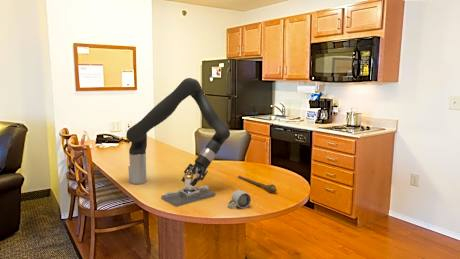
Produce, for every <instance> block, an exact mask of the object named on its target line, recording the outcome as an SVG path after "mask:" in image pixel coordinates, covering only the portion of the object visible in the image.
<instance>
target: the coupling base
mask: <svg viewBox="0 0 460 259" xmlns="http://www.w3.org/2000/svg"><path fill="white" fill-rule="evenodd" d="M209 189H210V188H209V185H208V184H207V185H203V186H199V185H198V186H194V187H193V192H190V193H186V192H185V188H181V189H177V190H176V191H175V190H174V191H167V192H164V193H165V194H163V195H161V199H162V200H163V201H165V202H168V203H169V204H171V205H173V206H175V207H179V206H183V205H186V204H190V203H194V202H197V201H201V200H204V199H208V198H211V197H214V196H216V192H215V191H212V190H209Z"/></svg>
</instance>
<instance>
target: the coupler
mask: <svg viewBox="0 0 460 259" xmlns="http://www.w3.org/2000/svg"><path fill="white" fill-rule="evenodd" d="M194 176H195V175H194V174H190V173H189V174H185V173H184V176H183V177H184V178H185V182H184V189H185V192H186V193H190V192H193V188H194V187H193V186H192V185H191V183H192V181H193V180H194Z"/></svg>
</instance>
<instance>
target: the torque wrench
mask: <svg viewBox="0 0 460 259" xmlns="http://www.w3.org/2000/svg"><path fill="white" fill-rule="evenodd" d="M237 178H238V179H240V180H243V181H246V182H248V183H252V184H253V185H257V186H259V187H262V188H264V189H266V190H267V191H268V193H270V194H273V193H275V192H277V191H278V190H277V187H276V185H275V184H265V183H262V182H258V181H257V180H256V181H255V180H253V179H249V178H247V177H244V176H241V175H238V176H237Z"/></svg>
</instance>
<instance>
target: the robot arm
mask: <svg viewBox="0 0 460 259" xmlns="http://www.w3.org/2000/svg"><path fill="white" fill-rule="evenodd" d="M188 97H191V98H193V100H194V102H195V103H196V104H197V106H198V108H199V110H200V114H201V115H202V117H203V118H204V120H205V122H206V123H207V125H208V126H209V127H210V128H212V129H213V130H214V134H213V135H212V137H211V139H210V140H209V142H208V143H207V144H206V145H205V147H204V148H203V149H202V150H201V151H200V153H199V155H198V156H197V157H196V158H195V160H194V164H192V163H189V164H188V166H186V168H185V170H183V173H184V175H185V174H193V175H194V176H195V178H193V181H192V183H191V185H192V186H193V188H195V187H196V185H197V183H199V182H200V181H203V180H204V179H205V177H206V176H207V174H208V173H209V172H208V170H207V169H208V168H209V166H210V165H211V163H212V162H213V161H214V159H215V157H216V155H217V154H218V153H219V151H220V149H221V147H222V146H223V144H224V143H225V141H227V139H228V138H230V135H231V132H230V129H229V126H227V125H226V124H225V123H224V122H223V121H222V120H221V118H220V117H219V116H218V113H216V110H215V109H214V108H213V107H212V105H211V102H210V101H208V99H207V96H206V94H205V93H204V90H203V88H202V86H201V84H200V82H199V81H198V79H195V78H192V77H187V78H184V79H183V80H182V81H181V82H180V83H179V85H178V86H176V88H175V89H174V90H173V91H172V92H171V93H169V94H168V95H167V96H165V98H163V99H162V100H160V101H159V102H158V103H157V104H156V105H155V106H154V107H153V108H152V109H151V110H149V112H148V113H147V114H145V116H144V117H143V118H142V119H141V120H140V121H138V122H137V123H135V124H134V125H133V126H131V127H129V128H128V130H127V131H126V134H125V136H126V140H127V142H130V143H131V145H130V147H129V149H128V150H129V151H128V153H129V154H128V155H129V165H128V183H130V184H133V185H141V184H145V183H146V182H148V181H147V157H146V156H147V147H148V146H147V145H148V143H147V142H148V136H147V133H148V132H149V131H150V130H152V129H153V128H155V127H157V126H158V125H160V124H161V123H163V122H164V121H165V120H166V119H168V118H169V117H170V116H171V115H172V114H173V113H174V112H175V111H176V109H177V108H178V106H179V105H180V104H181V103H182V102H183V101H184V100H186V98H188ZM181 182H183V183H185V178H184V176H183V177H182V179H181Z"/></svg>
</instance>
